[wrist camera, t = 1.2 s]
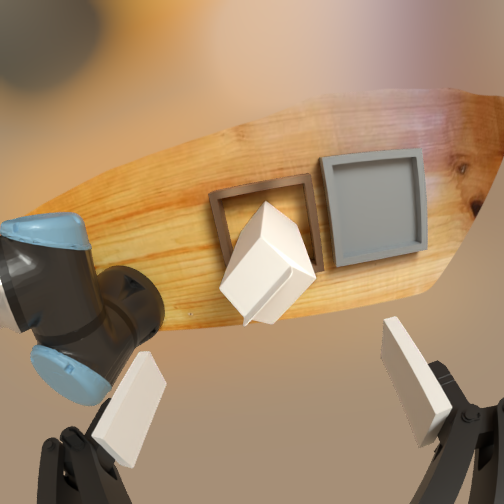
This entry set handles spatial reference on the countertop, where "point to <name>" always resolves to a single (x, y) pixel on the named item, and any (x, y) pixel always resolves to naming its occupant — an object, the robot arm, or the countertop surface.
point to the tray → (375, 204)
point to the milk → (267, 267)
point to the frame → (264, 185)
